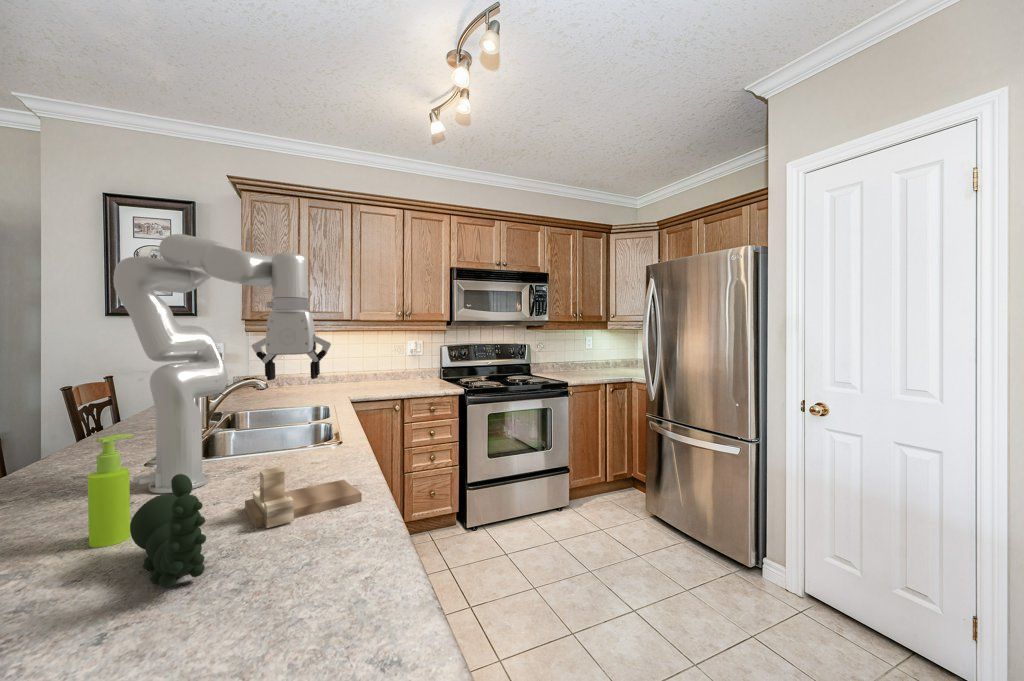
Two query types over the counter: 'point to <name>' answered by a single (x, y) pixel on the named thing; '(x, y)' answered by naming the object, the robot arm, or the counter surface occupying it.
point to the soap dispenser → (109, 497)
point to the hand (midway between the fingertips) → (293, 379)
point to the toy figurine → (171, 533)
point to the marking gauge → (274, 498)
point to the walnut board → (311, 500)
